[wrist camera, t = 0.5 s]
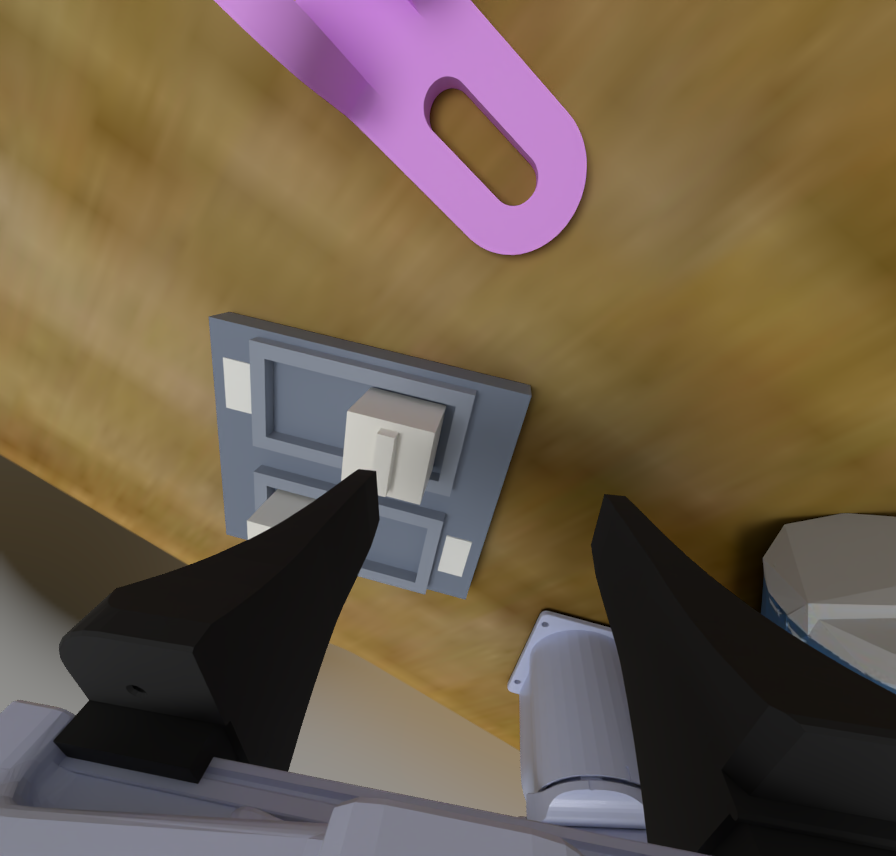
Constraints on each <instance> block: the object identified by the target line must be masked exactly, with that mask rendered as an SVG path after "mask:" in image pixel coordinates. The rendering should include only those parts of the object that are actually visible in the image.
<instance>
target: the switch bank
mask: <svg viewBox="0 0 896 856" xmlns="http://www.w3.org/2000/svg"><path fill="white" fill-rule="evenodd" d="M209 326H210V338H211V350H212V363H213V375H214V387H215V399H216V411H217V424H218V436H219V448H220V460H221V472H222V485H223V497H224V509H225V521H226V533H227V535H231V536H235V537H238V538H242V539H246V540H248V534H247V520H248V519H249V518H250V517H251V516H252V515H253V514H254V513H255V512H256V511H257V510H258V509H259V508H260V507H261V506H262V504H263V503H264V502H265V501H266V500H267V499H268V498H269V497H270V496H271V495H272V494H273V493H274V492H275V491H276V490H277V489H280V490H284V491H288V492H291V493H295V494H299V495H303V496H307V497H310V498H314V499H317V498H319V497H320V496H322V495H323V494H324V493H326V492H327V491H329V490H330V489H331V488H333V487H334V486H336V485H337V484H338V483H340V482H341V475H342V463H343V452H344V441H345V430H346V419H347V411H348V410H349V409H350V408H351V407H352V406H353V405H354V404H355V403H356V402H357V401H358V400H359V399H360V398H361V397H362V396H363V395H364V394H365V393H366V392H367V391H368V390H369V389H370V388H371V387H373V388H377V389H381V390H385V391H389V392H393V393H397V394H401V395H405V396H409V397H413V398H417V399H421V400H425V401H429V402H433V403H437V404H441V405H445V406H446V410H445V414H444V419H443V424H442V428H441V433H440V437H439V442H438V446H437V451H436V456H435V460H434V465H433V469H432V473H431V475H430V478H429V481H428V484H427V487H426V489H425V492H424V495H423V498H422V501H421V503H420V505H418V504H414V503H410V502H407V501H403V500H399V499H395V498H391V497H388V496H386V497H382V496H378V503H379V516H380V521H379V524H378V527H377V530H376V534H375V537H374V540H373V543H372V546H371V548H370V550H369V553H368V555H367V557H366V559H365V561H364V563H363V565H362V568H361V570H360V572H359V574H358V576H360V577H363V578H367V579H370V580H374V581H378V582H381V583H385V584H389V585H392V586H396V587H400V588H403V589H407V590H411V591H414V592H418V593H422V594H425V593H426V589H429V590H433V591H436V592H440V593H444V594H447V595H451V596H455V597H458V598H462V599H466V596H467V593H468V590H469V587H470V584H471V581H472V578H473V575H474V572H475V569H476V565H477V562H478V559H479V556H480V553H481V550H482V547H483V544H484V541H485V538H486V535H487V532H488V528H489V525H490V522H491V519H492V516H493V513H494V510H495V507H496V504H497V501H498V498H499V495H500V491H501V488H502V485H503V482H504V479H505V476H506V473H507V470H508V467H509V464H510V461H511V458H512V455H513V451H514V448H515V445H516V442H517V439H518V436H519V433H520V430H521V427H522V424H523V421H524V418H525V414H526V411H527V408H528V405H529V402H530V399H531V396H532V395H531V387H530V385H527V384H523V383H519V382H515V381H511V380H507V379H503V378H498V377H494V376H490V375H486V374H482V373H478V372H474V371H470V370H466V369H462V368H457V367H453V366H449V365H445V364H441V363H437V362H433V361H429V360H425V359H421V358H416V357H412V356H408V355H404V354H400V353H396V352H392V351H388V350H384V349H379V348H375V347H371V346H367V345H363V344H359V343H355V342H351V341H347V340H343V339H338V338H334V337H330V336H326V335H322V334H318V333H314V332H310V331H306V330H302V329H297V328H293V327H289V326H285V325H281V324H277V323H273V322H269V321H265V320H260V319H256V318H252V317H248V316H244V315H240V314H236V313H232V312H227V313H222V314H218V315H214V316H209Z"/></svg>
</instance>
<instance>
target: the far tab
mask: <svg viewBox="0 0 896 856" xmlns="http://www.w3.org/2000/svg"><path fill="white" fill-rule="evenodd" d="M315 500H316V499H314V498H310V497H307V496H303V495H299V494H295V493H291V492H288V491H284V490H280V489H277V490H276V491H275V492H274V493H273V494H272V495H271V496H270V497H269V498H268V499H267V500H266V501H265V502H264V503H263V504H262V506H261V507H260V508H259V509H258V510H257V511H256V512H255V513H254V514H253V515H252V516H251V517H250V518H249V519H248V520H247V534H248V540H249V539H251V538H253V537H255V536H257V535H258V534H260V533H262V532H264V531H266V530H268V529H270V528H272V527H273V526H275V525H277V524H279V523H280V522H282V521H284V520H285V519H287V518H289V517H290V516H292V515H293V514H295V513H296V512H298V511H299V510H301V509H302V508H304V507H306V506H307V505H309V504H310V503H312V502H313V501H315Z"/></svg>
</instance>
